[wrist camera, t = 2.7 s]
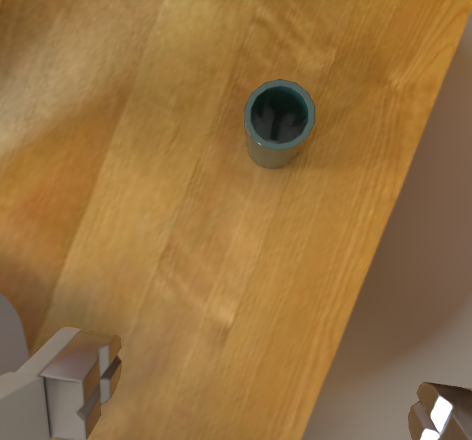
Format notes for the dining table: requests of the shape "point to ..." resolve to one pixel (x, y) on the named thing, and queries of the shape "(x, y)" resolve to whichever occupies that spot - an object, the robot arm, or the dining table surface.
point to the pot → (277, 122)
